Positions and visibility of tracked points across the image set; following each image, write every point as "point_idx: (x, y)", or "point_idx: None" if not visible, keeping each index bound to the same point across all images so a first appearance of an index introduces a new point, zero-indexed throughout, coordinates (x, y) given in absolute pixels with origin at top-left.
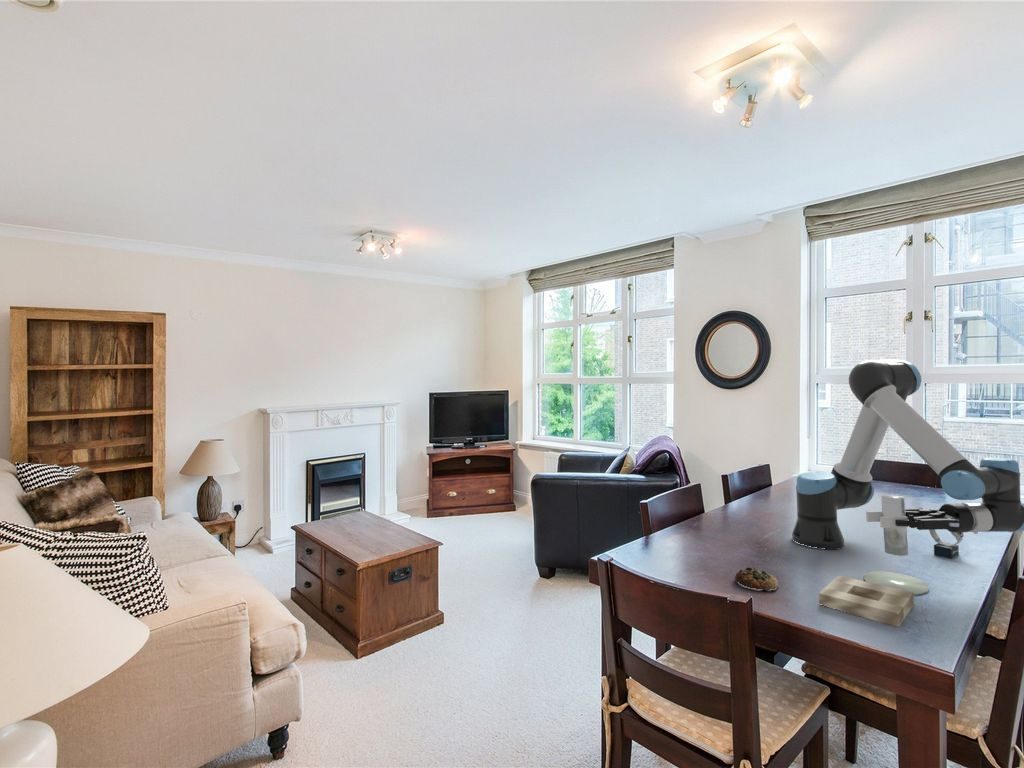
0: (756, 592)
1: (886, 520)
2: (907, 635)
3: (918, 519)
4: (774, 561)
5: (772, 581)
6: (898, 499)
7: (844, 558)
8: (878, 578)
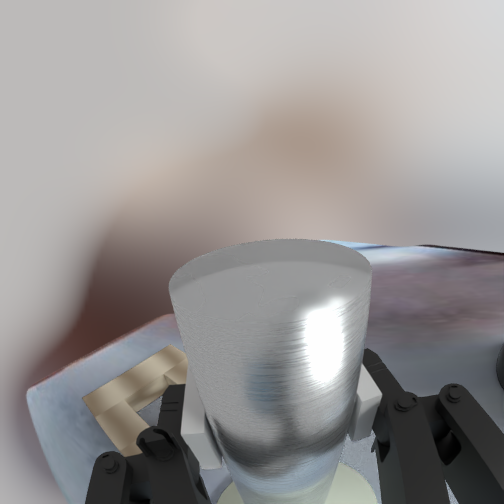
0: None
1: None
2: (74, 407)
3: (109, 457)
4: (377, 333)
5: None
6: (172, 282)
7: None
8: None
